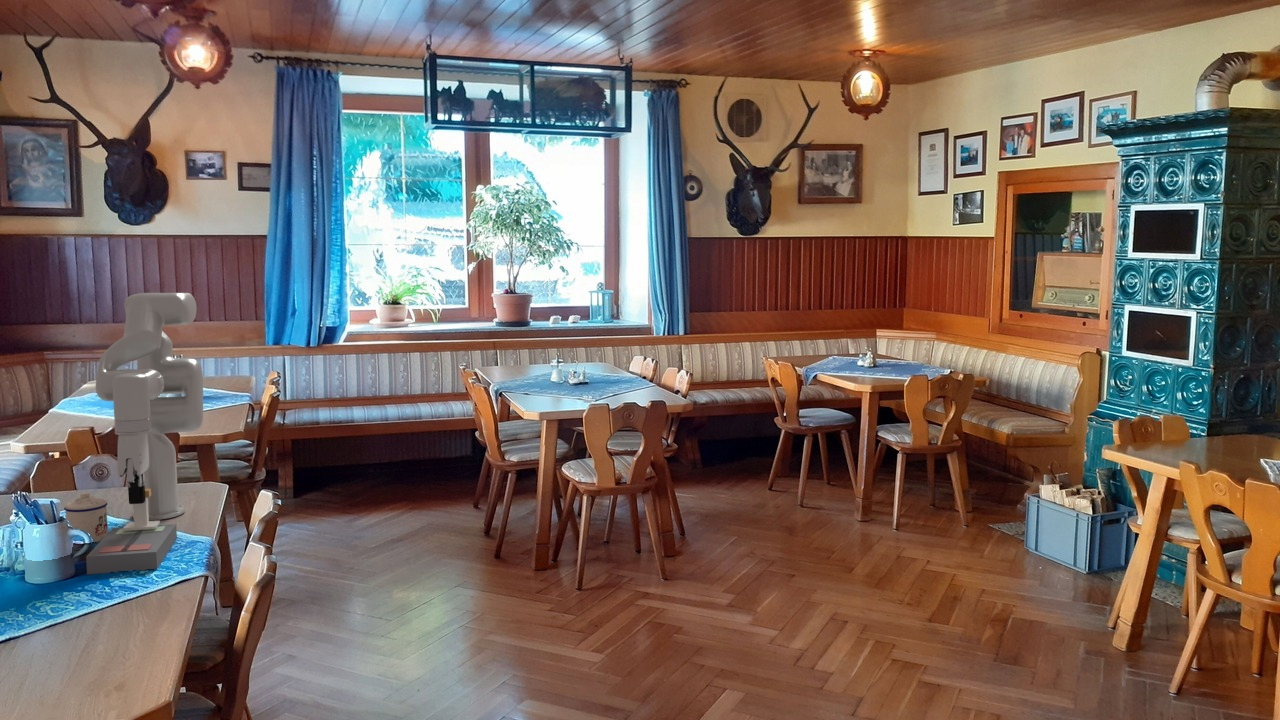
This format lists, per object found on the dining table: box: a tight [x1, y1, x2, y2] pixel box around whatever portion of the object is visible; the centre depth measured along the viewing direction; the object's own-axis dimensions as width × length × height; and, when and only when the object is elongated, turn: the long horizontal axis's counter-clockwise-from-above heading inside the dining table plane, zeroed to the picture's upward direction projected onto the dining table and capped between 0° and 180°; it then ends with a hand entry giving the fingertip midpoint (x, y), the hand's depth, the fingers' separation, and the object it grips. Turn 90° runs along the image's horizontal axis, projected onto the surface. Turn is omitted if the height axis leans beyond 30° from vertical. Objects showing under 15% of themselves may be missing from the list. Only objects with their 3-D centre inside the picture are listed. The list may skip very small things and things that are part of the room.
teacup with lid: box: [64, 491, 109, 544], centre depth 233 cm, size 12×9×12 cm
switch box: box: [85, 523, 178, 575], centre depth 220 cm, size 22×14×4 cm, turn 15°
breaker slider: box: [123, 489, 161, 531], centre depth 227 cm, size 5×7×9 cm
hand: (137, 502), depth 224 cm, fingers closed
